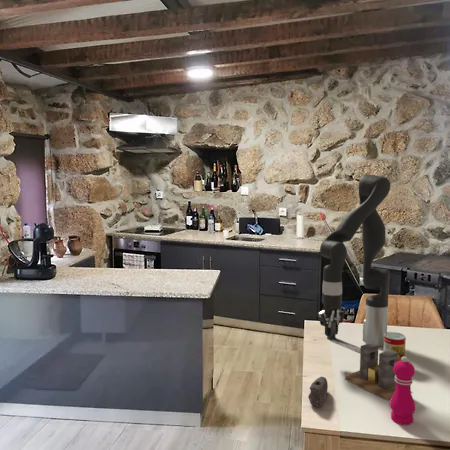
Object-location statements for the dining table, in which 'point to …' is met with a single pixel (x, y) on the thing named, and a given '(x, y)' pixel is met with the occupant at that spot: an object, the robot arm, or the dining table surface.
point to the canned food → (395, 343)
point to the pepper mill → (403, 393)
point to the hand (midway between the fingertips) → (331, 334)
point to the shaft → (340, 342)
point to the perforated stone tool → (318, 391)
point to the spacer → (373, 374)
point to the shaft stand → (386, 373)
